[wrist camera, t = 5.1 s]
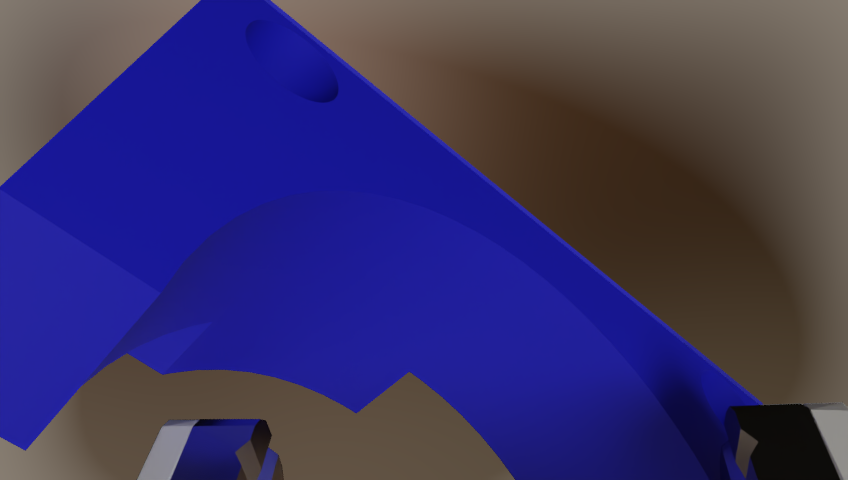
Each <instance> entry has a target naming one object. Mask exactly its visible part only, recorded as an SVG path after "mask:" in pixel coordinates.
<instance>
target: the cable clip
mask: <svg viewBox="0 0 848 480" xmlns="http://www.w3.org/2000/svg"><path fill="white" fill-rule="evenodd" d="M126 353H128V354H129V355H131V356H133V357H134V358H136V359H138V360H139V361H141V362H143V363H144V364H146V365H147V366H149V367H151V368H152V369H154V370H156V371H157V372H159V373H161V374H163V375H164V374H169V373H176V372H184V371H192V370H233V371H243V372H252V373H257V374H262V375H267V376H271V377H276V378H279V379H282V380H286V381H289V382H292V383H295V384H298V385H301V386H304V387H306V388H308V389H311V390H313V391H315V392H318V393H320V394H323V395H325V396H326V397H328V398H330V399H332V400H334V401H336V402H338V403H340V404H342V405H344V406H345V407H347V408H349V409H350V410H352V411H353V412H355V413H357V412H359V411H360V410H361V409H362V408H364V407H365V406H366V405H367V404H368V403H370V402H371V401H373V400H374V399H375V398H376V397H377V396H379V395H380V394H381V393H383V392H384V391H385V390H386V389H387V388H389V387H390V386H392V385H393V384H394V383H395V382H397V381H398V380H399V379H400V378H402V377H403V376H404V375H405V374H407V373H408V372H411V373H412V374H413V375H415V376H416V377H418V378H419V379H420V380H422V381H423V382H424V383H425V384H427V385H428V386H429V387H430V388H432V389H433V390H434V391H435V392H437V393H438V394H439V395H440V396H442V397H443V398H444V399H445V400H446V401H447V402H448V403H449V404H450V405H451V406H452V407H453V408H454V409H456V410H457V411H458V412H459V413H460V414H461V415H462V416H463V417H464V418H465V419H466V420H467V421H468V422H469V423H470V425H471V426H472V427H473V428H474V429H475V430H476V431H477V432H478V433H479V434H480V435H481V436H482V437H483V439H484V440H485V441H486V442H487V444H488V445H489V446H490V447H491V448H492V450H493V451H494V452H495V453H496V454H497V456H498V457H499V458H500V459H501V461H502V462H503V464H504V465H505V466H506V468H507V469H508V470H509V472H510V473H511V475H512V476H513V477H514V479H515V480H720V453H721V446H722V445H723V444H724V443H726V442H727V441H728V440H729V439H728V436H727V433H726V429H725V426H724V422H725V416H726V411H727V410H728V408H729V406H748V405H763V403H762V402H761V401H759V400H758V399H757V398H756V397H755V396H753V395H752V394H751V393H750V392H748V391H747V390H746V389H745V388H744V387H742V386H741V385H740V384H739V383H737V382H736V381H735V380H734V379H733V378H731V377H730V376H729V375H728V374H726V373H725V372H724V371H723V370H722V369H720V368H719V367H718V366H717V365H715V364H714V363H713V362H712V361H711V360H709V359H708V358H707V357H706V356H704V355H703V354H702V353H701V352H700V351H698V350H697V349H696V348H695V347H693V346H692V345H691V344H690V343H689V342H687V341H686V340H685V339H684V338H682V337H681V336H680V335H679V334H678V333H676V332H675V331H674V330H673V329H671V328H670V327H669V326H668V325H667V324H665V323H664V322H663V321H662V320H660V319H659V318H658V317H657V316H656V315H654V314H653V313H652V312H651V311H650V310H648V309H647V308H646V307H645V306H643V305H642V304H641V303H640V302H639V301H637V300H636V299H635V298H634V297H632V296H631V295H630V294H629V293H628V292H626V291H625V290H624V289H622V288H621V287H620V286H619V285H617V283H615V282H614V281H613V280H612V279H610V278H609V277H608V276H607V275H606V274H604V273H603V272H602V271H601V270H599V269H598V268H597V267H596V266H595V265H593V264H592V263H591V262H590V261H588V260H587V259H586V258H585V257H583V256H582V255H581V254H580V253H579V252H577V251H576V250H575V249H574V248H573V247H571V246H570V245H569V244H568V243H566V242H565V241H564V240H563V239H562V238H560V237H559V236H558V235H557V234H555V233H554V232H553V231H552V230H550V229H549V228H548V227H547V226H546V225H544V224H543V223H542V222H541V221H540V220H538V219H537V218H536V217H535V216H533V215H532V214H531V213H530V212H529V211H527V210H526V209H525V208H524V207H522V206H521V205H520V204H519V203H518V202H516V201H515V200H514V199H513V198H511V197H510V196H509V195H508V194H507V193H505V192H504V191H503V190H502V189H500V188H499V187H498V186H497V185H496V184H494V183H493V182H492V181H491V180H489V179H488V178H487V177H486V176H485V175H483V174H482V173H481V172H480V171H478V170H477V169H476V168H475V167H474V166H472V165H471V164H470V163H469V162H468V161H466V160H465V159H464V158H463V157H461V156H460V155H459V154H458V153H456V152H455V151H454V150H453V149H452V148H450V147H449V146H448V145H447V144H445V143H444V142H443V141H442V140H441V139H439V138H438V137H437V136H436V135H434V134H433V133H432V132H431V131H430V130H428V129H427V128H426V127H425V126H424V125H422V124H421V123H420V122H419V121H417V120H416V119H415V118H414V117H412V116H411V115H410V114H409V113H407V112H406V111H405V110H404V109H403V108H401V107H400V106H399V105H398V104H397V103H395V102H394V101H393V100H392V99H390V98H389V97H388V96H387V95H386V94H384V93H383V92H382V91H381V90H380V89H378V88H377V87H376V86H374V85H373V84H372V83H371V82H370V81H369V80H367V79H366V78H365V77H363V76H362V75H361V74H360V73H359V72H358V71H356V70H355V69H354V68H352V67H351V66H350V65H349V64H348V63H346V62H345V61H344V60H343V59H342V58H340V57H339V56H338V55H337V54H336V53H334V52H333V51H332V50H331V49H329V48H328V47H327V46H326V45H324V44H323V43H322V42H321V41H320V40H318V39H317V38H316V37H315V36H314V35H312V34H311V33H310V32H309V31H307V30H306V29H305V28H304V27H303V26H301V25H300V24H299V23H298V22H296V21H295V20H294V19H293V18H292V17H290V16H289V15H288V14H287V13H285V12H284V11H283V10H282V9H281V8H279V7H278V6H277V5H276V4H274V3H273V2H272V1H271V0H201V1H200V2H198V4H196V5H195V6H194V7H193V8H192V9H191V10H190V11H189V12H188V13H187V14H186V15H184V17H182V18H181V19H180V20H179V21H178V22H177V23H176V24H175V25H174V26H173V27H172V28H171V29H169V30H168V31H167V32H166V33H165V34H164V35H163V36H162V37H161V38H160V39H159V40H158V41H157V42H155V43H154V44H153V45H152V46H151V47H150V48H149V49H148V50H147V51H146V52H145V53H144V54H142V55H141V56H140V57H139V58H138V59H137V60H136V61H135V62H134V63H133V64H132V65H131V66H130V67H128V68H127V69H126V70H125V71H124V72H123V73H122V74H121V75H120V76H119V77H118V78H117V79H116V80H115V81H113V82H112V83H111V84H110V85H109V86H108V87H107V88H106V89H105V90H104V91H103V92H102V93H101V94H99V95H98V96H97V97H96V98H95V99H94V100H93V101H92V102H91V103H90V104H89V105H88V106H86V107H85V108H84V109H83V110H82V111H81V112H80V113H79V114H78V115H77V116H76V117H75V118H74V119H72V120H71V121H70V122H69V123H68V124H67V125H66V126H65V127H64V128H63V129H62V130H61V131H60V132H58V133H57V134H56V135H55V136H54V137H53V138H52V139H51V140H50V141H49V142H48V143H47V144H46V145H45V146H43V147H42V148H41V149H40V150H39V151H38V152H37V153H36V154H35V155H34V156H33V157H32V158H31V159H30V160H28V161H27V162H26V163H25V164H24V165H23V166H22V167H21V168H20V169H19V170H18V171H17V172H15V173H14V174H13V175H12V176H11V177H10V178H9V179H8V180H7V181H6V182H5V183H4V184H3V185H1V186H0V437H1V438H3V439H5V440H7V441H9V442H11V443H12V444H14V445H16V446H18V447H20V448H22V449H23V450H26V449H27V448H28V447H29V446H30V445H31V443H32V442H33V441H34V440H35V439H36V438H37V437H38V435H39V434H40V433H41V432H42V431H43V430H44V428H45V427H46V426H47V425H48V424H49V423H50V422H51V420H52V419H53V418H54V417H55V416H56V415H57V413H58V412H59V411H60V410H61V409H62V408H63V406H64V405H65V404H66V403H67V402H68V401H69V399H70V398H71V397H72V396H73V395H74V394H75V393H76V391H77V390H78V389H79V388H80V387H81V386H82V385H83V384H85V383H86V382H87V381H88V380H90V378H92V377H93V376H94V375H96V374H97V373H98V372H99V371H100V370H102V369H103V368H104V367H106V366H107V365H108V364H110V363H112V362H113V361H115V360H116V359H118V358H120V357H121V356H123V355H125V354H126Z"/></svg>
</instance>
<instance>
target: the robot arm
mask: <svg viewBox="0 0 848 480" xmlns="http://www.w3.org/2000/svg"><path fill="white" fill-rule="evenodd" d="M724 426H725V429H726V433H727V436H728V439H729V440H728V441H727V442H726V443H724V444H723V445H722V446H721V453H720V480H848V407H847V406H846V405H845V404H843V403H811V404H803V405H802V404H777V405H776V404H775V405H748V406H729V408H728V410H727V411H726V416H725V422H724ZM271 436H272V435H271V432H270V430H269V427H268V425H267V422H266V421H265V420H261V419H200V420H169V421H168V422H167V423H166V424H164V425H163V426H162V427H161V429H160V431H159V433H158V435H157V437H156V440H155V442H154V444H153V446H152V448H151V450H150V452H149V454H148V457H147V459H146V461H145V463H144V465H143V467H142V469H141V472H140V474H139V476H138V478H137V480H284V478H283V470H282V464H281V461H280V458H279V455H278V454H276V453H275V452H274V451H272V450H271V449H270V448H268V446H269V443H270V439H271Z"/></svg>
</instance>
